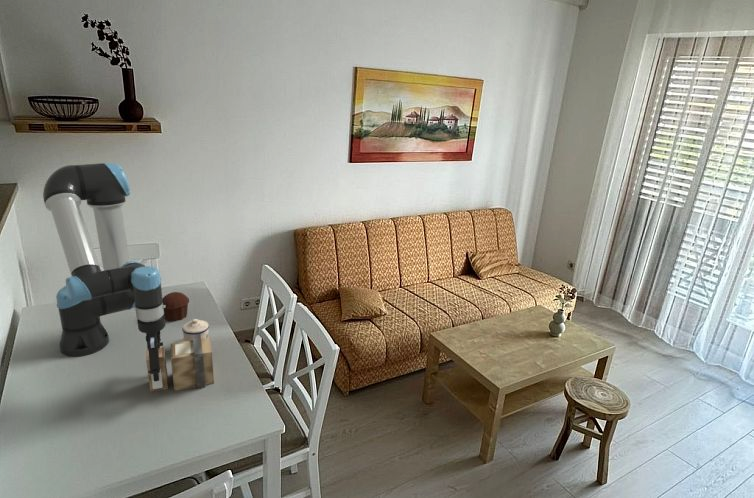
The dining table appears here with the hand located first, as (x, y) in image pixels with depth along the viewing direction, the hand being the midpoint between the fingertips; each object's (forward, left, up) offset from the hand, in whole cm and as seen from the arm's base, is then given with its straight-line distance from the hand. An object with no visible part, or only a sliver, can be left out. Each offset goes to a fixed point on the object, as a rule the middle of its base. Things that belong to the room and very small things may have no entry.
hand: (158, 375), depth 146 cm
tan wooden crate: (+7, +7, -3) cm, 11 cm away
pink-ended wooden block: (0, 0, -3) cm, 3 cm away
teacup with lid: (-6, +23, -4) cm, 24 cm away
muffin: (-29, +36, -4) cm, 46 cm away
